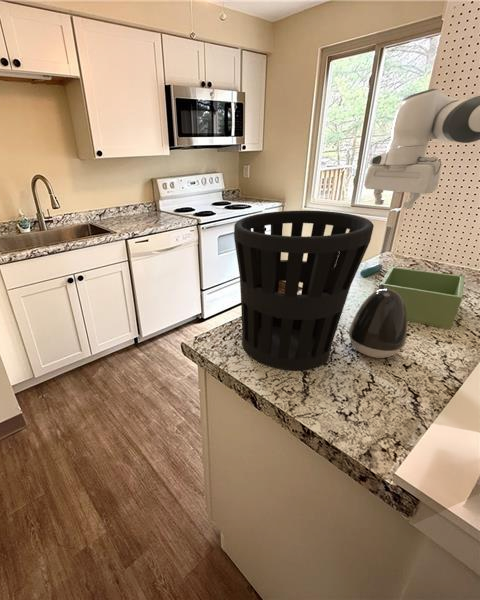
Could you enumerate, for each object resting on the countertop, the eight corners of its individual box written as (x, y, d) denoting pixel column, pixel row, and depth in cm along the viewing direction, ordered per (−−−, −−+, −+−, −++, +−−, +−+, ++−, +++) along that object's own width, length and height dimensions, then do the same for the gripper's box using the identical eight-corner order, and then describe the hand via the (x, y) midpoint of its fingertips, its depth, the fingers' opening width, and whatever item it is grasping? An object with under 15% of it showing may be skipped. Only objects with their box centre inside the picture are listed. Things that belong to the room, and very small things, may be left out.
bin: (384, 292, 95) (391, 266, 91) (453, 305, 85) (464, 276, 81) (372, 312, 85) (380, 284, 81) (450, 329, 75) (462, 297, 71)
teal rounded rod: (375, 268, 112) (377, 262, 111) (382, 270, 110) (384, 264, 109) (357, 276, 107) (359, 269, 106) (365, 278, 105) (367, 271, 104)
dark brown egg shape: (393, 341, 73) (411, 282, 66) (406, 368, 64) (428, 303, 58) (343, 335, 77) (355, 278, 70) (348, 359, 68) (363, 297, 62)
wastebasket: (363, 345, 72) (396, 215, 60) (308, 397, 59) (335, 246, 47) (267, 311, 91) (276, 207, 78) (209, 345, 78) (209, 227, 65)
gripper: (453, 155, 81) (436, 209, 86) (382, 156, 99) (372, 201, 105) (433, 157, 80) (417, 212, 85) (365, 158, 98) (356, 203, 104)
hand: (392, 206), depth 95 cm, fingers open, 8 cm apart
